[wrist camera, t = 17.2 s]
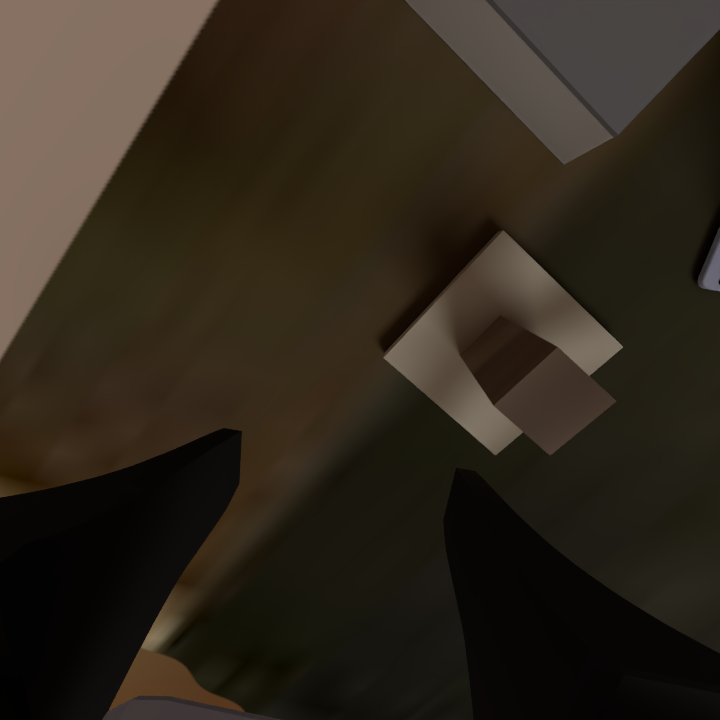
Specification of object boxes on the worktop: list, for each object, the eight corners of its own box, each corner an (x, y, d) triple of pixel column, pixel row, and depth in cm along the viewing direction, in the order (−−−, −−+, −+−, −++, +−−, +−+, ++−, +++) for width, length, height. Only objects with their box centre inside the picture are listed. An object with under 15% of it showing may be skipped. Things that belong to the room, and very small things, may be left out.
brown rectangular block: (539, 351, 19) (616, 401, 13) (498, 389, 20) (550, 455, 13) (500, 315, 19) (557, 346, 12) (459, 355, 20) (493, 405, 13)
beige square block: (612, 342, 20) (623, 347, 19) (491, 446, 22) (495, 455, 21) (497, 231, 19) (503, 230, 18) (383, 353, 21) (383, 357, 20)
